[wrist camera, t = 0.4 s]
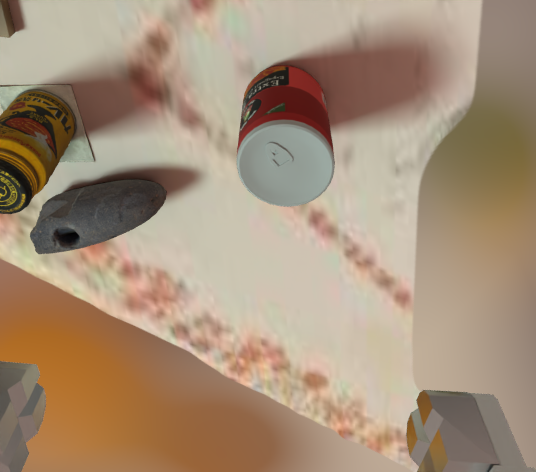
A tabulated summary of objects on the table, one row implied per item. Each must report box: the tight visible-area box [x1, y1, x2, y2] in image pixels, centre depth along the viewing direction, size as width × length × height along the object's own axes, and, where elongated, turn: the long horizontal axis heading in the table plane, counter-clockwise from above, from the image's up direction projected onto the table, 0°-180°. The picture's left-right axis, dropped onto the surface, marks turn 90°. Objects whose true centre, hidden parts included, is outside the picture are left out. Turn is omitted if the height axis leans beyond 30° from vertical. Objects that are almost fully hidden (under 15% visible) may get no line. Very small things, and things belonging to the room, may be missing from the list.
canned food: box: [237, 65, 335, 207], centre depth 43 cm, size 8×8×11 cm
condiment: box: [0, 85, 94, 214], centre depth 45 cm, size 7×8×12 cm
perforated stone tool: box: [30, 180, 166, 254], centre depth 53 cm, size 15×5×7 cm, turn 105°
